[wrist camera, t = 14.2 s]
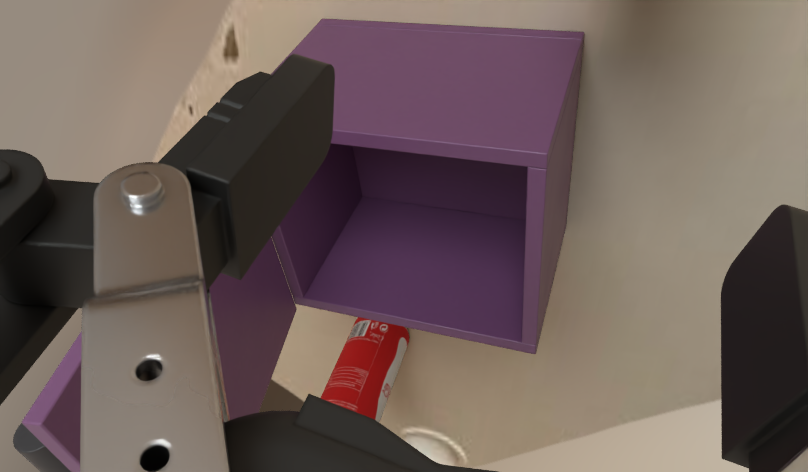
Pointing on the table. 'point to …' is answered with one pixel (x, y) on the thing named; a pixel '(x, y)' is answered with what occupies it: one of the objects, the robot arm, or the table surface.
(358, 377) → the beverage can
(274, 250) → the lid
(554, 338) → the table surface
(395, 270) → the box
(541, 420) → the table surface
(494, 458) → the table surface
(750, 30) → the table surface
